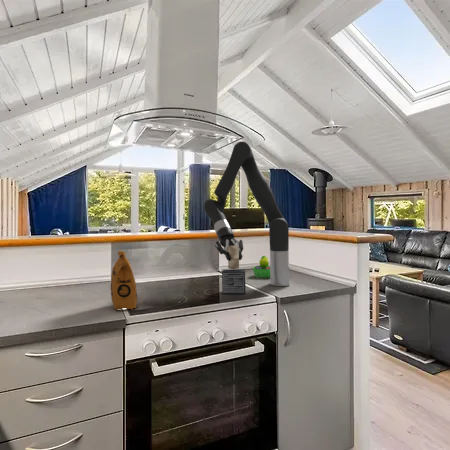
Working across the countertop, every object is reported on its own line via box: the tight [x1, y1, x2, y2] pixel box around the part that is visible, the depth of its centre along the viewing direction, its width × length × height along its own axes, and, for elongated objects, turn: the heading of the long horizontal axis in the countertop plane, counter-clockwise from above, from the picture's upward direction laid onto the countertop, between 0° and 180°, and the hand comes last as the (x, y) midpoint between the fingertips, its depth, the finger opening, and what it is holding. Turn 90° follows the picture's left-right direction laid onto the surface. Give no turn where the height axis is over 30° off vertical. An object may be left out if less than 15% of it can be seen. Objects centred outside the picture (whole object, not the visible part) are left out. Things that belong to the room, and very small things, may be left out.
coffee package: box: [110, 250, 138, 310], centre depth 128 cm, size 10×12×22 cm
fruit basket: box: [252, 255, 270, 279], centre depth 180 cm, size 11×9×11 cm
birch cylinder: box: [227, 246, 240, 269], centre depth 146 cm, size 5×5×10 cm
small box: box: [221, 268, 247, 295], centre depth 147 cm, size 11×6×10 cm, turn 84°
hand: (235, 259), depth 144 cm, fingers closed on birch cylinder, 5 cm apart
